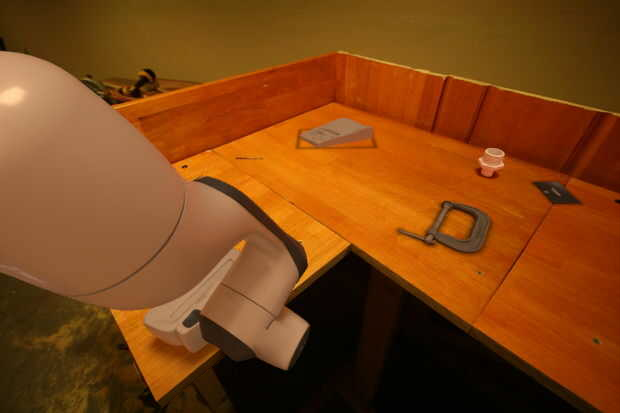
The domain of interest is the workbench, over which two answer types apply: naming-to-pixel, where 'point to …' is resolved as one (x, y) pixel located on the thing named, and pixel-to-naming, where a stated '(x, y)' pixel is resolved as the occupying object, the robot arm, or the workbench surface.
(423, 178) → the workbench surface
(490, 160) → the pipe fitting
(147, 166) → the robot arm
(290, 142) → the workbench surface
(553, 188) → the solid state drive
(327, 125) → the ramp
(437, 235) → the c clamp
